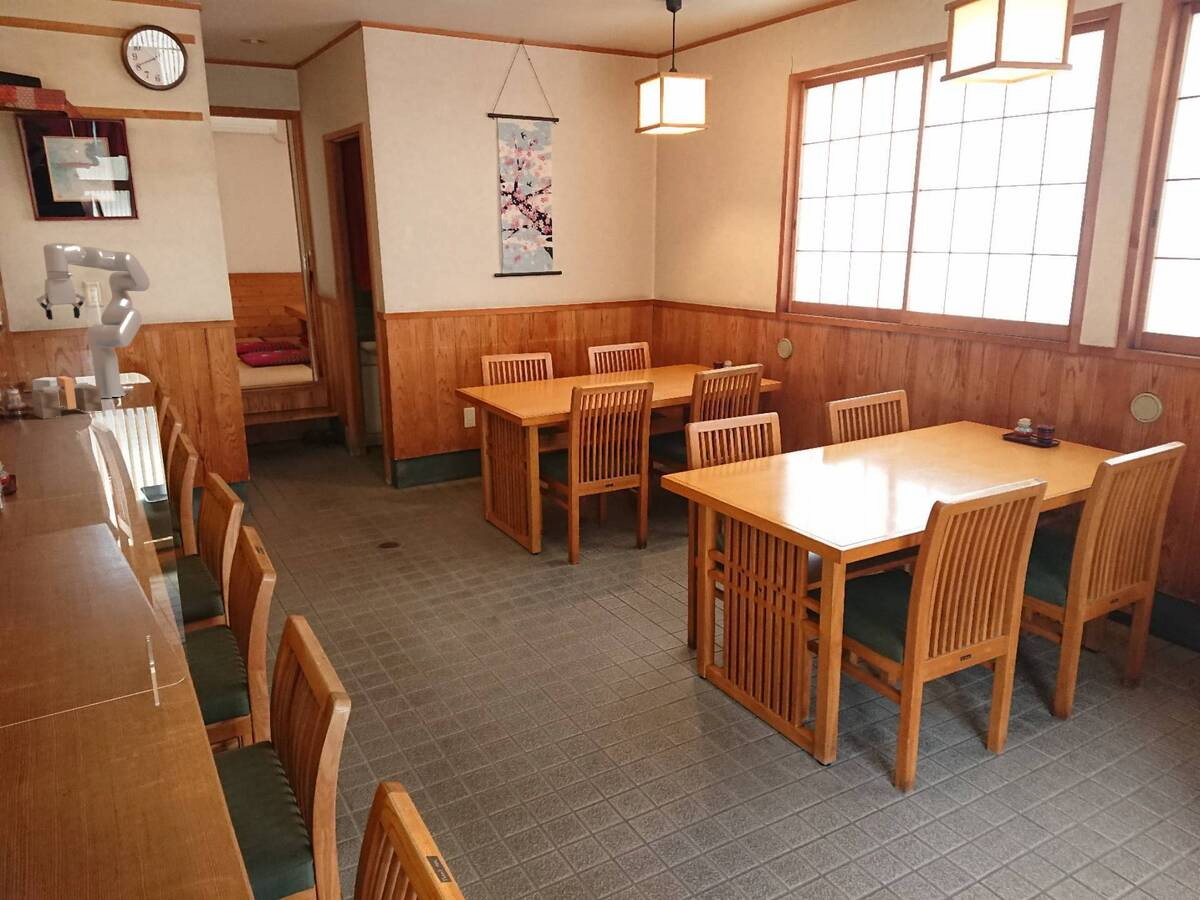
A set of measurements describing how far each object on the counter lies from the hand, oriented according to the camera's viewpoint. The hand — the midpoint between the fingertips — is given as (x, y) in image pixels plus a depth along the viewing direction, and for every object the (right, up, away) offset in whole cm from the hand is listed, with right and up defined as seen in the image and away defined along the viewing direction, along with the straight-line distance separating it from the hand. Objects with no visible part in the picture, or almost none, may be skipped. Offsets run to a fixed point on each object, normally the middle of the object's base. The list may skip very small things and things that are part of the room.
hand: (63, 318), depth 339 cm
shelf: (+5, -39, -5) cm, 39 cm away
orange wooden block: (+5, -36, -5) cm, 37 cm away
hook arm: (+5, -29, -7) cm, 30 cm away
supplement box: (-7, -37, +2) cm, 38 cm away
